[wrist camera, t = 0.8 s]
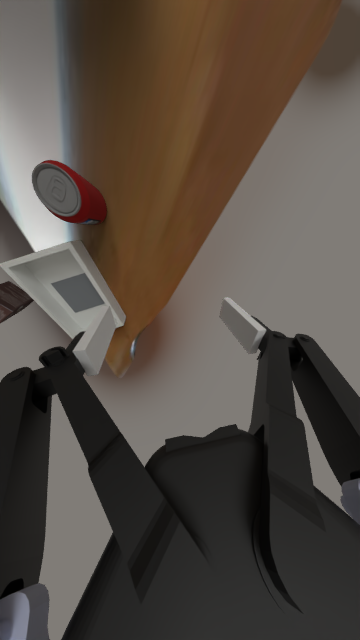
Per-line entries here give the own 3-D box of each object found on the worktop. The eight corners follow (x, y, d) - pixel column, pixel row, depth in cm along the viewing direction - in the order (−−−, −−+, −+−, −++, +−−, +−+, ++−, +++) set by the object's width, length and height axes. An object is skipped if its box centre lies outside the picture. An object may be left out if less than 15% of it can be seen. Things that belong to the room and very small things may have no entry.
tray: (18, 259, 31) (-2, 264, 27) (80, 240, 31) (70, 241, 27) (81, 330, 44) (74, 340, 39) (126, 316, 44) (123, 325, 39)
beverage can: (67, 209, 28) (21, 198, 18) (76, 172, 25) (28, 136, 16) (101, 232, 31) (78, 233, 21) (112, 200, 28) (92, 184, 19)
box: (21, 310, 37) (-4, 326, 31) (-6, 293, 34) (-40, 307, 28) (36, 298, 36) (13, 312, 30) (9, 280, 33) (-23, 291, 27)
